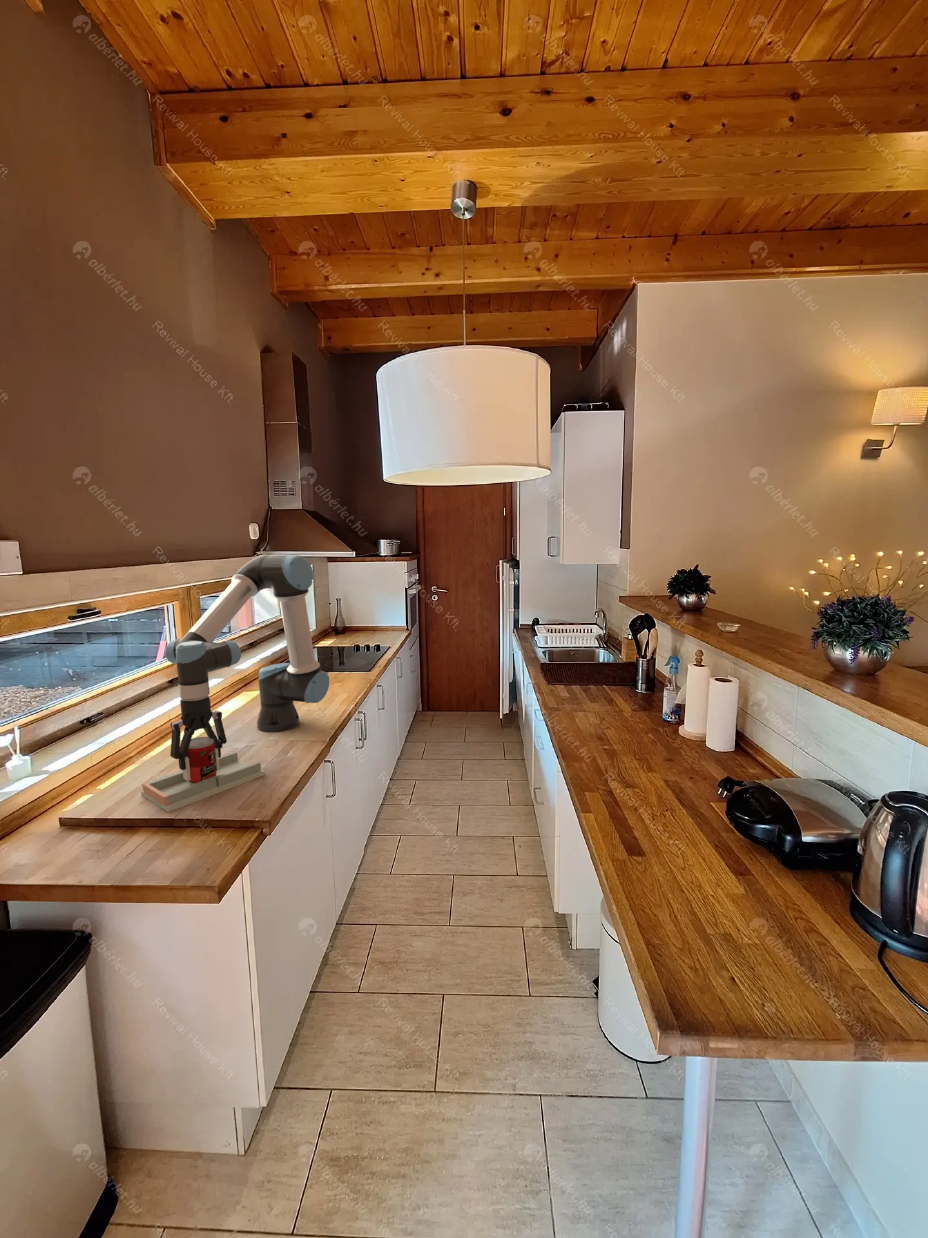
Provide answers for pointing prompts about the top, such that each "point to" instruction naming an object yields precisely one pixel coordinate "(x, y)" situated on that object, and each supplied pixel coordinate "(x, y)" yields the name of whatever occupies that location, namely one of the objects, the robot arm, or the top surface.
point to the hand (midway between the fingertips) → (201, 774)
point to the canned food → (201, 759)
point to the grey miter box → (199, 783)
